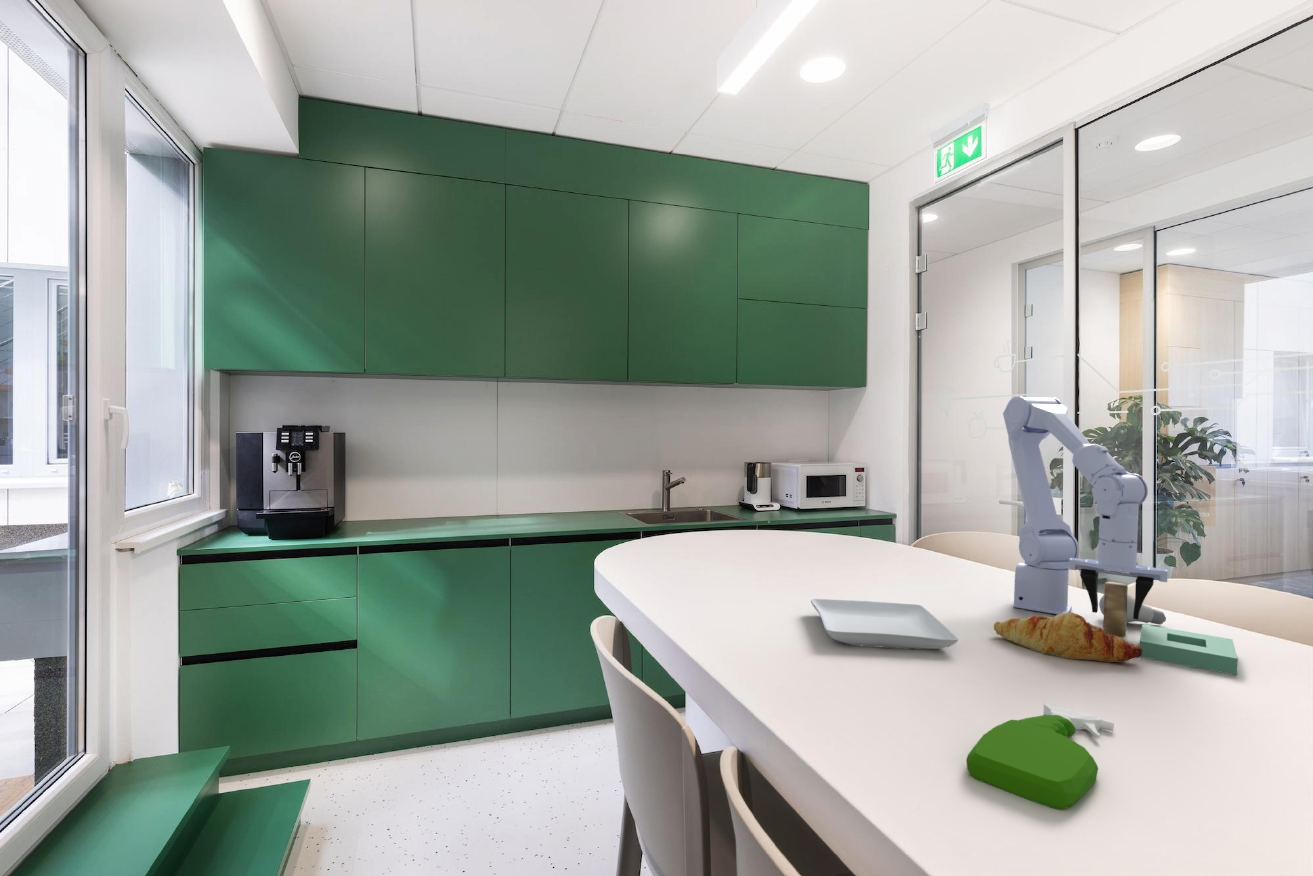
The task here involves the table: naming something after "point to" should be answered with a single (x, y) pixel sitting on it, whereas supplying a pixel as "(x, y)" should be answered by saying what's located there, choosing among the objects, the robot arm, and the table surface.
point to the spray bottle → (1039, 757)
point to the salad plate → (883, 624)
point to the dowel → (1115, 608)
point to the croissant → (1067, 638)
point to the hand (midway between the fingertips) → (1115, 614)
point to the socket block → (1189, 649)
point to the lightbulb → (1144, 615)
